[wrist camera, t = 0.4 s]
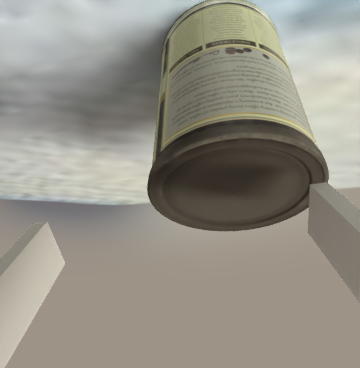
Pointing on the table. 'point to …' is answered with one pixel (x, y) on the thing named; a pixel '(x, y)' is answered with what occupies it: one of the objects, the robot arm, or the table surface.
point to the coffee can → (230, 124)
